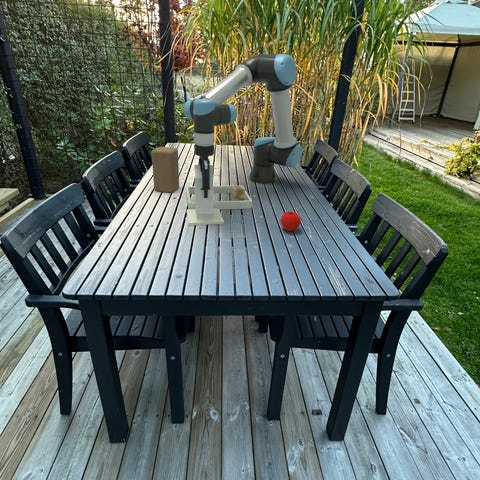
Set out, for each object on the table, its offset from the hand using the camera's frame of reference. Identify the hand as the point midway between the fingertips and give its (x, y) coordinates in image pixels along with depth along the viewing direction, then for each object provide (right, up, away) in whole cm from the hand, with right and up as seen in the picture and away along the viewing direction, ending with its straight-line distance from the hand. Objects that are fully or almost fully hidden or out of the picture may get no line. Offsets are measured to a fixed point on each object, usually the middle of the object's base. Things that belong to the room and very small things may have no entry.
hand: (204, 201), depth 137 cm
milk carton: (0, -4, +2) cm, 4 cm away
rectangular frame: (+4, +3, +21) cm, 22 cm away
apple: (+34, -12, -3) cm, 36 cm away
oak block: (+13, +1, +19) cm, 23 cm away
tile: (0, -6, +3) cm, 7 cm away
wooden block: (-22, +10, +33) cm, 41 cm away
